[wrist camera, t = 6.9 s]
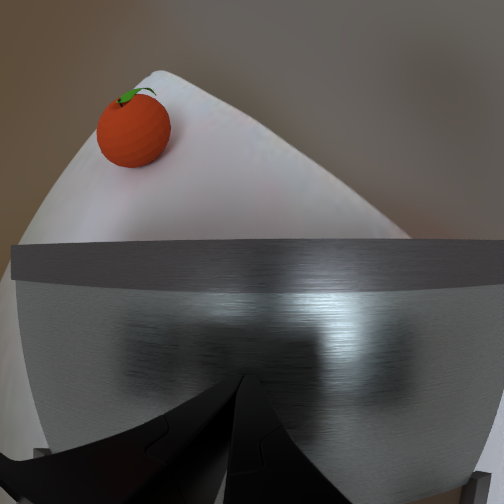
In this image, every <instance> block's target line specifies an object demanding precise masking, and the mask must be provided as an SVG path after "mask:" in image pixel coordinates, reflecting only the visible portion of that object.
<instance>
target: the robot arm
mask: <svg viewBox="0 0 504 504" xmlns="http://www.w3.org/2000/svg"><path fill="white" fill-rule="evenodd" d="M226 470H227V475H226V482H225V491H224V499H223V504H353V503H352V502H351V501H349V500H348V499H347V498H346V497H345V496H344V495H343V494H342V493H341V492H340V491H339V490H338V489H337V488H336V487H335V486H334V485H333V484H332V483H331V482H330V481H329V480H328V478H327V477H326V476H325V475H324V474H323V473H322V472H321V471H320V470H319V469H318V468H317V467H316V466H315V465H314V464H313V463H312V462H311V460H310V459H309V458H308V457H307V456H306V455H305V454H304V453H303V452H302V450H301V449H300V448H299V447H298V445H297V444H296V443H295V441H294V440H293V438H292V437H291V435H290V434H289V432H288V431H287V429H286V427H285V426H284V424H283V422H282V421H281V419H280V417H279V415H278V414H277V412H276V410H275V408H274V407H273V405H272V403H271V401H270V399H269V398H268V396H267V394H266V392H265V390H264V389H263V387H262V385H261V383H260V381H259V379H258V377H257V376H255V375H245V376H243V375H236V374H232V375H230V376H228V377H227V378H225V379H223V380H222V381H220V382H218V383H217V384H215V385H213V386H212V387H210V388H208V389H207V390H205V391H203V392H202V393H200V394H198V395H196V396H195V397H193V398H191V399H189V400H188V401H186V402H184V403H182V404H180V405H179V406H177V407H175V408H173V409H171V410H170V411H168V412H166V413H164V414H161V415H159V416H157V417H156V418H154V419H152V420H150V421H147V422H145V423H143V424H141V425H139V426H136V427H134V428H131V429H129V430H126V431H124V432H121V433H118V434H115V435H113V436H110V437H107V438H104V439H101V440H98V441H95V442H92V443H89V444H85V445H82V446H79V447H76V448H72V449H69V450H65V451H62V452H58V453H54V454H50V455H46V456H42V457H38V458H34V459H30V460H25V461H14V460H11V459H9V458H7V457H6V456H5V455H3V454H2V453H1V452H0V486H1V487H2V488H3V489H4V490H5V491H6V492H7V493H8V494H9V495H10V496H11V497H12V498H13V499H14V500H15V501H16V502H17V503H16V504H214V503H215V500H216V498H217V495H218V492H219V490H220V487H221V484H222V481H223V479H224V476H225V473H226Z"/></svg>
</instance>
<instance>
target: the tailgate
mask: <svg viewBox="0 0 504 504" xmlns="http://www.w3.org/2000/svg"><path fill="white" fill-rule="evenodd" d="M11 280H16V297H17V309H18V319H19V327H20V335H21V341H22V348H23V354H24V359H25V364H26V369H27V374H28V378H29V383H30V387H31V391H32V395H33V399H34V402H35V406H36V409H37V413H38V416H39V419H40V422H41V425H42V428H43V431H44V434H45V437H46V440H47V443H48V445H49V448H50V451H51V453H52V454H54V453H58V452H62V451H65V450H69V449H72V448H76V447H79V446H82V445H85V444H89V443H92V442H95V441H98V440H101V439H104V438H107V437H110V436H113V435H115V434H118V433H121V432H124V431H126V430H129V429H131V428H134V427H136V426H139V425H141V424H143V423H145V422H147V421H150V420H152V419H154V418H156V417H157V416H159V415H161V414H164V413H166V412H168V411H170V410H171V409H173V408H175V407H177V406H179V405H180V404H182V403H184V402H186V401H188V400H189V399H191V398H193V397H195V396H196V395H198V394H200V393H202V392H203V391H205V390H207V389H208V388H210V387H212V386H213V385H215V384H217V383H218V382H220V381H222V380H223V379H225V378H227V377H228V376H230V375H232V374H236V375H243V376H245V375H255V376H257V377H258V379H259V381H260V383H261V385H262V387H263V389H264V390H265V392H266V394H267V396H268V398H269V399H270V401H271V403H272V405H273V407H274V408H275V410H276V412H277V414H278V415H279V417H280V419H281V421H282V422H283V424H284V426H285V427H286V429H287V431H288V432H289V434H290V435H291V437H292V438H293V440H294V441H295V443H296V444H297V445H298V447H299V448H300V449H301V450H302V452H303V453H304V454H305V455H306V456H307V457H308V458H309V459H310V460H311V462H312V463H313V464H314V465H315V466H316V467H317V468H318V469H319V470H320V471H321V472H322V473H323V474H324V475H325V476H326V477H327V478H328V480H329V481H330V482H331V483H332V484H333V485H334V486H335V487H336V488H337V489H338V490H339V491H340V492H341V493H342V494H343V495H344V496H345V497H346V498H347V499H348V500H349V501H351V502H352V503H353V504H405V503H409V502H413V501H417V500H421V499H424V498H428V497H431V496H434V495H437V494H441V493H444V492H447V491H449V490H452V489H455V488H458V487H460V486H463V485H466V484H467V483H468V481H469V479H470V477H471V475H472V473H473V471H474V469H475V466H476V464H477V462H478V460H479V458H480V455H481V453H482V451H483V448H484V446H485V443H486V441H487V438H488V436H489V433H490V431H491V428H492V425H493V422H494V419H495V416H496V413H497V410H498V407H499V404H500V400H501V397H502V393H503V390H504V240H459V239H458V240H457V239H456V240H455V239H454V240H453V239H234V240H172V241H127V242H90V243H58V244H30V245H11ZM226 475H227V470H226V473H225V476H224V479H223V481H222V484H221V487H220V490H219V492H218V495H217V498H216V500H215V503H214V504H223V499H224V491H225V482H226Z"/></svg>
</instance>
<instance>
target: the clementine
mask: <svg viewBox="0 0 504 504" xmlns="http://www.w3.org/2000/svg"><path fill="white" fill-rule="evenodd" d="M141 89H147V90H150V91H151V92H152V93H154V91H153V90H152V89H150V88H139V89H133V90H131V91H129V92H127V93H125V94H124V95H123V96H122V97H120V98H118V99H116V100H115V101H113V102H112V103H111V104H109V106H108V107H107V108H106V109H105V111H104V112H103V114H102V115H101V117H100V119H99V123H98V127H97V141H98V144H99V147H100V149H101V152H102V153H103V155H104V156H105V157H106V158H107V159H108V160H109V161H111V162H112V163H114V164H116V165H118V166H122V167H127V168H135V167H140V166H143V165H146V164H148V163H150V162H151V161H153V160H154V159H155V158H157V157H158V156H159V155H160V154H161V153H162V152H163V150H164V149H165V147H166V145H167V143H168V141H169V137H170V130H171V125H170V119H169V115H168V113H167V111H166V109H165V107H164V106H163V105H161V104H160V103H159V102H158V101H157V100H156V99H155V98H152V97H150V96H148V95H144V94H136V93H137V92H138V91H140V90H141ZM154 94H155V93H154ZM155 95H156V94H155Z"/></svg>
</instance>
